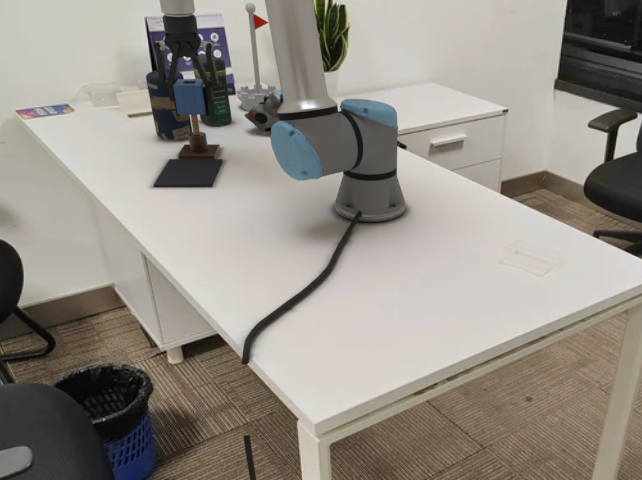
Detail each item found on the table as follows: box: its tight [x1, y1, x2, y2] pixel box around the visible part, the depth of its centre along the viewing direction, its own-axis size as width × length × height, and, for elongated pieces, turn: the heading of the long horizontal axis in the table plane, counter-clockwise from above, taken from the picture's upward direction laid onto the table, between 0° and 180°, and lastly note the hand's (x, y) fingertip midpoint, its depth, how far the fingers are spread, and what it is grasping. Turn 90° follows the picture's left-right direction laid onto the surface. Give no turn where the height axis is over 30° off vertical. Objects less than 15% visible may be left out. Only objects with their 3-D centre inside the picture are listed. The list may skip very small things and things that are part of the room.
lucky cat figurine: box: [244, 89, 283, 135], centre depth 196 cm, size 15×12×14 cm
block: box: [173, 78, 206, 116], centre depth 171 cm, size 6×6×7 cm
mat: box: [153, 158, 223, 188], centre depth 167 cm, size 18×13×1 cm
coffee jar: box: [192, 53, 233, 126], centre depth 198 cm, size 10×8×19 cm
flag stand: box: [236, 2, 280, 112], centre depth 210 cm, size 13×13×30 cm
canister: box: [145, 67, 193, 141], centre depth 185 cm, size 10×10×18 cm
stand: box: [177, 115, 221, 159], centre depth 175 cm, size 9×9×16 cm
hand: (194, 114), depth 173 cm, fingers closed on block, 6 cm apart
